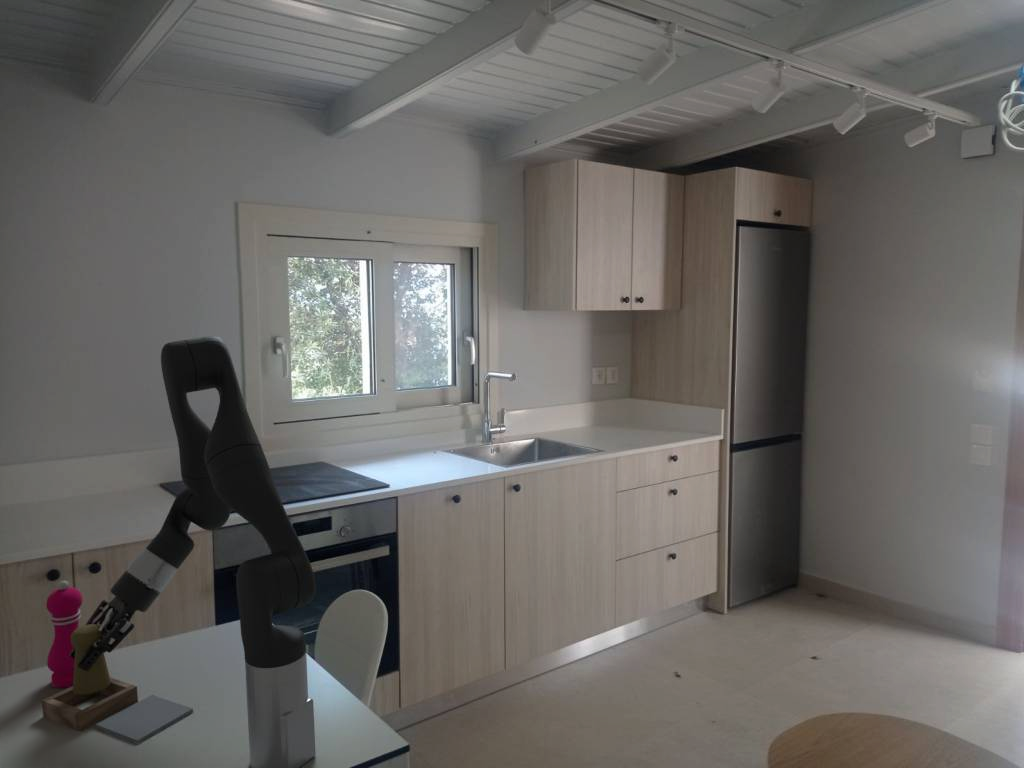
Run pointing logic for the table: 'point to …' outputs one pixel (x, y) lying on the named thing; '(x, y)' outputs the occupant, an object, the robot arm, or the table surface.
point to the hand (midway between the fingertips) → (78, 662)
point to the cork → (98, 672)
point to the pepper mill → (63, 632)
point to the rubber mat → (144, 718)
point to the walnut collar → (78, 719)
